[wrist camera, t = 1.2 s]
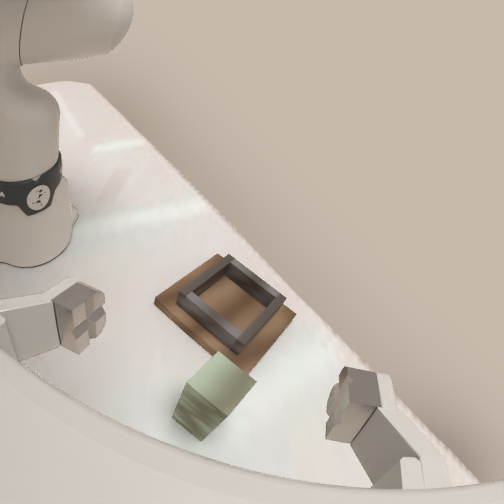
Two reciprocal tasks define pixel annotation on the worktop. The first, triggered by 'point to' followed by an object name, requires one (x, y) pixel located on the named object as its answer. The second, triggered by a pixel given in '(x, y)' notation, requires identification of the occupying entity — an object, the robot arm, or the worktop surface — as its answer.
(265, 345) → the display stand
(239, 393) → the green peg
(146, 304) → the worktop surface
